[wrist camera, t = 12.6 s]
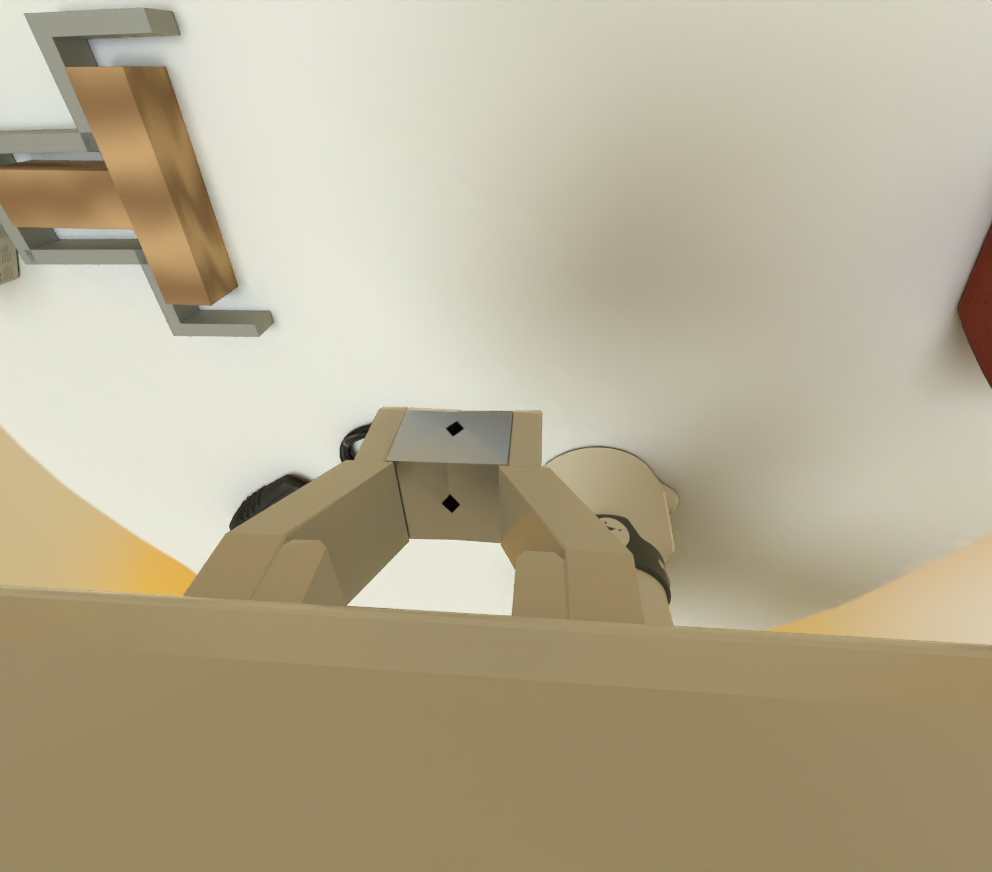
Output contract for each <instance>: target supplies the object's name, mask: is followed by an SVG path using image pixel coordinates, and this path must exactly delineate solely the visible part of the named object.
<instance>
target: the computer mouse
mask: <svg viewBox="0 0 992 872" xmlns="http://www.w3.org/2000/svg"><path fill="white" fill-rule="evenodd" d="M370 426H371V425H367V426H363V427H360V428H358V429H356V430H354V431H352V432H351V433H349V434H348V435H347V436H346V437H345V438H344V440H343V441H342V443H341V446H340V459H341V462H344V461H345V460H354V459H355V458H354V457H353V456H352V455H351V453H350V448H351V445H352V444H353V443H355V442H356V441H358V440H361V439H363V438H365V437H366V435H367V433H368V431H369V428H370ZM306 484H307V483H305V482H303V481H301V480H299V479H297V478H295V477H292V476H290V475H286V476H284V477H282V478H280V479H278V480H276V481H275V482H273V483H271V484H269V485H268V486H266V487H264V488H261V489H259V490H258V492H255V493H253V495H252V496H249V497H248V498H247V500H244V501H243V502H242V504H241V506H240V507H239V508H238V510H237V511H236V513H235V515H234V516H233V518H232V520H231V523H230V525H229V527H230V531H231V530H233V529H234V528H236V527H237V526H239V525H241V524H242V523H244V522H246V521H247V520H249V519H251V518H252V517H254V516H255V515H257V514H259V513H260V512H262V511H264V510H265V509H267V508H269V507H270V506H272V505H273V504H275V503H277V502H278V501H280V500H282V499H283V498H285V497H286V496H288V495H290V494H291V493H293V492H295V491H296V490H298V489H300V488H301V487H303V486H304V485H306Z"/></svg>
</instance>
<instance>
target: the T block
mask: <svg viewBox="0 0 992 872" xmlns="http://www.w3.org/2000/svg"><path fill="white" fill-rule="evenodd" d="M64 68H65V71H66V73H67V75H68V78H69V80H70V82H71V85H72V87H73V89H74V92H75V94H76V96H77V99H78V101H79V103H80V106H81V108H82V110H83V113H84V115H85V117H86V119H87V122H88V124H89V126H90V129H91V131H92V133H93V136H94V138H95V140H96V143H97V145H98V147H99V150H100V152H101V154H102V157H103V159H104V161H69V160H30V161H24V162H19V163H14V164H8V165H3V166H0V204H1V206H2V207H3V209H4V211H5V213H6V214H7V216H8V218H9V220H10V221H11V223H12V225H13V227H39V228H85V229H131V230H134V231H135V233H136V235H137V238H138V240H139V242H140V245H141V247H142V249H143V252H144V254H145V256H146V259H147V261H148V263H149V266H150V268H151V270H152V273H153V275H154V277H155V279H156V282H157V284H158V286H159V289H160V291H161V293H162V296H163V298H164V300H165V303H166V304H177V305H208V306H211V305H213V304H214V303H216V302H217V301H218V300H220V299H221V298H223V297H224V296H225V295H227V294H228V293H230V292H231V291H232V290H234V289H235V288H237V287H238V284H237V281H236V278H235V275H234V272H233V269H232V266H231V263H230V260H229V257H228V254H227V251H226V248H225V245H224V242H223V239H222V236H221V233H220V230H219V227H218V224H217V221H216V217H215V214H214V211H213V208H212V205H211V202H210V199H209V196H208V193H207V190H206V187H205V184H204V181H203V178H202V175H201V172H200V169H199V166H198V163H197V160H196V157H195V154H194V151H193V148H192V145H191V142H190V139H189V136H188V133H187V130H186V126H185V123H184V120H183V117H182V114H181V111H180V108H179V105H178V102H177V99H176V96H175V93H174V90H173V87H172V84H171V81H170V78H169V75H168V72H167V69H166V67H64Z"/></svg>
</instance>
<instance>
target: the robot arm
mask: <svg viewBox="0 0 992 872" xmlns="http://www.w3.org/2000/svg"><path fill="white" fill-rule="evenodd" d="M541 464H542V412H541V410H531V411H514V412H513V411H462V410H451V409H430V408H407V407H383V408H381V409H379V410H378V412H377V414H376V416H375V418H374V420H373V422H372V424H371V426H370V428H369V431H368V433H367V435H366V437H365V439H364V441H363V443H362V445H361V447H360V449H359V451H358V453H357V455H356V457H355V459H354V460H345V461H344V462H342V463H340V464H339V465H337V466H335V467H334V468H332V469H331V470H329V471H327V472H326V473H324V474H322V475H321V476H319V477H318V478H316V479H314V480H313V481H311V482H309V483H308V484H306V485H304V486H303V487H301V488H300V489H298V490H296V491H295V492H293V493H291V494H290V495H288V496H286V497H285V498H283V499H282V500H280V501H278V502H277V503H275V504H273V505H272V506H270V507H269V508H267V509H265V510H264V511H262V512H260V513H259V514H257V515H255V516H254V517H252V518H251V519H249V520H247V521H246V522H244V523H242V524H241V525H239V526H237V527H236V528H234V529H233V530H231V531H229V532H228V533H226V534H225V536H224V537H223V538H222V540H221V541H220V543H219V544H218V546H217V547H216V549H215V550H214V551H213V553H212V554H211V556H210V557H209V559H208V560H207V562H206V563H205V564H204V566H203V567H202V569H201V570H200V572H199V573H198V575H197V576H196V577H195V579H194V581H193V582H192V583H191V585H190V586H189V588H188V589H187V590H186V592H185V593H184V595H183V596H174V595H157V594H141V593H140V594H139V593H124V592H107V591H91V590H74V589H58V588H40V587H24V586H8V585H0V872H992V645H985V644H969V643H952V642H936V641H919V640H902V639H886V638H868V637H853V636H836V635H819V634H803V633H786V632H770V631H753V630H737V629H720V628H703V627H687V626H674V625H673V621H672V617H671V613H670V609H669V604H670V601H671V593H670V580H669V575H668V572H667V569H666V567H665V564H666V563H668V562H669V559H670V556H671V554H672V553H674V551H675V544H674V539H673V533H672V528H671V522H670V519H671V517H672V515H673V514H674V512H675V510H676V508H677V507H678V504H679V499H678V495H677V493H676V492H675V491H674V490H672V489H671V488H669V487H667V486H665V485H664V484H662V483H660V482H659V480H658V479H657V478H656V476H655V475H654V473H653V472H652V470H651V469H650V468H649V467H648V466H647V465H646V464H645V463H644V462H643V461H641V460H640V459H638V458H637V457H635V456H633V455H631V454H629V453H626V452H623V451H620V450H616V449H610V448H584V449H578V450H574V451H571V452H568V453H565V454H563V455H560V456H558V457H556V458H555V459H553V460H552V461H550V462H549V463H547V464H546V465H545V466H544V467H541ZM409 539H449V540H466V541H480V542H493V543H501V546H502V548H503V549H504V551H505V553H506V555H507V556H508V558H509V560H510V562H511V563H512V565H513V567H514V569H515V583H514V595H513V607H512V616H506V615H489V614H473V613H456V612H440V611H423V610H406V609H390V608H373V607H357V606H347V604H348V603H349V602H350V601H351V600H352V599H353V598H354V597H355V596H356V595H357V594H358V593H359V592H360V591H361V590H362V589H363V588H364V587H365V586H366V585H367V584H368V583H369V582H370V581H371V580H372V579H373V578H374V577H375V576H376V575H377V574H378V573H379V572H380V571H381V570H382V569H383V568H384V567H385V566H386V564H387V563H388V562H389V561H390V560H391V559H392V558H393V557H394V556H395V555H396V554H397V553H398V552H399V551H400V550H401V549H402V548H403V547H404V546H405V545H406V544H407V543H408V542H409Z"/></svg>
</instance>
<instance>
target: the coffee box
mask: <svg viewBox="0 0 992 872" xmlns="http://www.w3.org/2000/svg"><path fill="white" fill-rule="evenodd" d="M18 276H19V274H18V265H17V255H16V247H15V246H14V244H13V242H12V241H11V239H10V237H9V236H8V234H7V233H6V231H5V229H4V228H3V226H2V224H1V223H0V285H1V284H3V283H6V282H9V281H11V280H14V279H17V278H18Z"/></svg>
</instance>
